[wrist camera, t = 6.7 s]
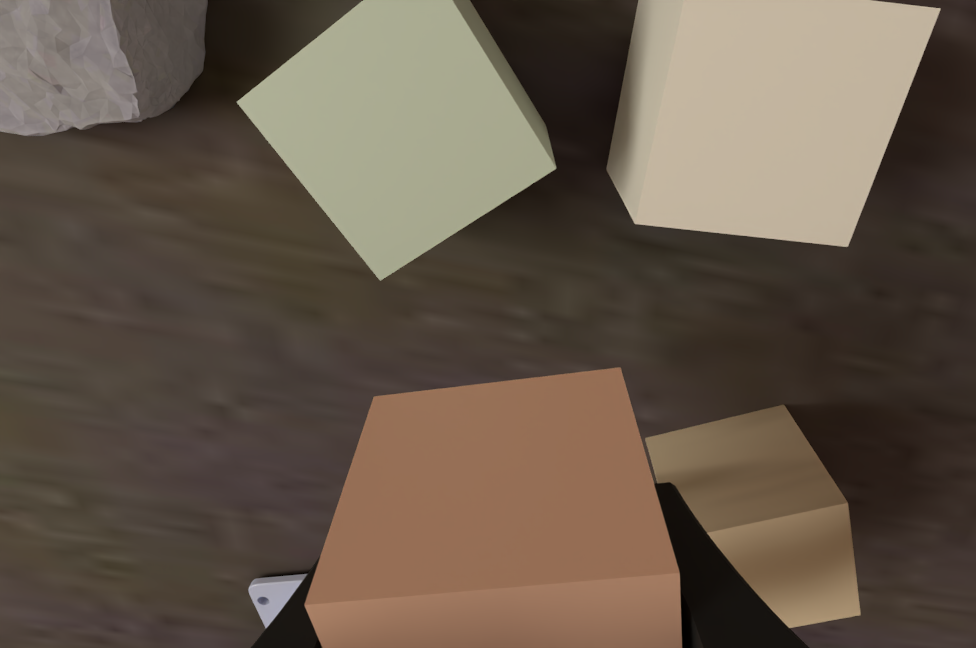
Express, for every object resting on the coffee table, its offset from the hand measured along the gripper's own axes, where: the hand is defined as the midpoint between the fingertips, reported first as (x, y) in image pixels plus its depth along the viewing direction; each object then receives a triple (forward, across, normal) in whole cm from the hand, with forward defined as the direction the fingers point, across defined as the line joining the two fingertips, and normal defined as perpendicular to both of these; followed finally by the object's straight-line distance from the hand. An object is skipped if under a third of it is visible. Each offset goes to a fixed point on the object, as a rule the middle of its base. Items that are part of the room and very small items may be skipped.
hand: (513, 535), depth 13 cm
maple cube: (+10, -7, +8) cm, 15 cm away
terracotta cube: (+2, 0, 0) cm, 2 cm away
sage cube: (+10, +2, -7) cm, 12 cm away
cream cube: (+10, -6, -6) cm, 13 cm away
